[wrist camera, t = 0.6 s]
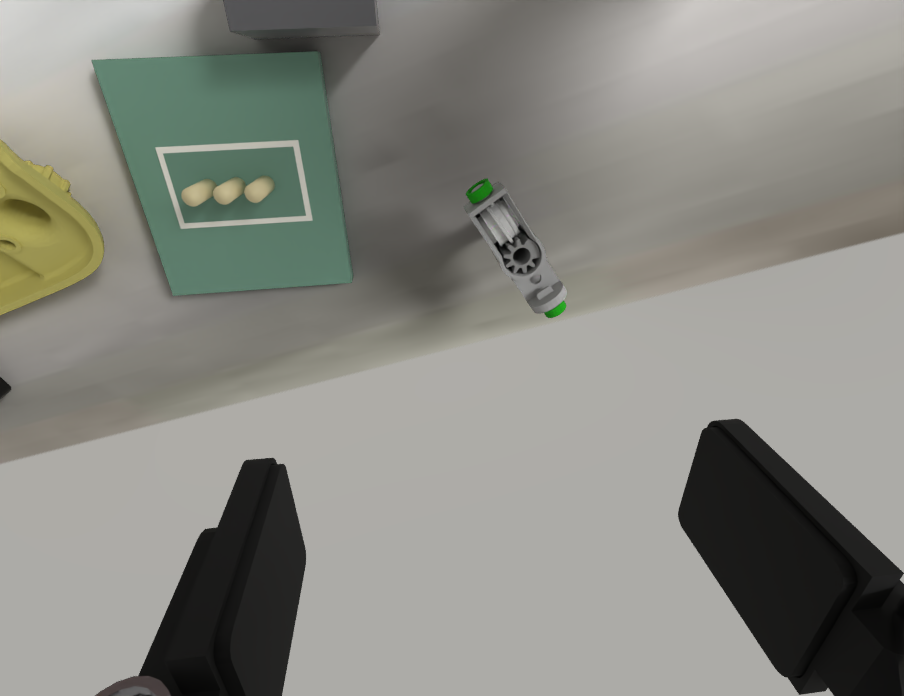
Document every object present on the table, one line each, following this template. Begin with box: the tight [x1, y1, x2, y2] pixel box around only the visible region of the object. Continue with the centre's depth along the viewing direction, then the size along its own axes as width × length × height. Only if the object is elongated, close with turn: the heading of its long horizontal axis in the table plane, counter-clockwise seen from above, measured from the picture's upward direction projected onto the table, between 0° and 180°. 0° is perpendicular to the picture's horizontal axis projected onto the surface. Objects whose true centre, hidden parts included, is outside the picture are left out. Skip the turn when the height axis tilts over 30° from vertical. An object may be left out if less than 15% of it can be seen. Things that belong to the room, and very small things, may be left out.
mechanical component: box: [464, 179, 567, 318], centre depth 35 cm, size 3×10×10 cm, turn 34°
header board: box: [92, 51, 353, 296], centre depth 34 cm, size 16×14×5 cm
